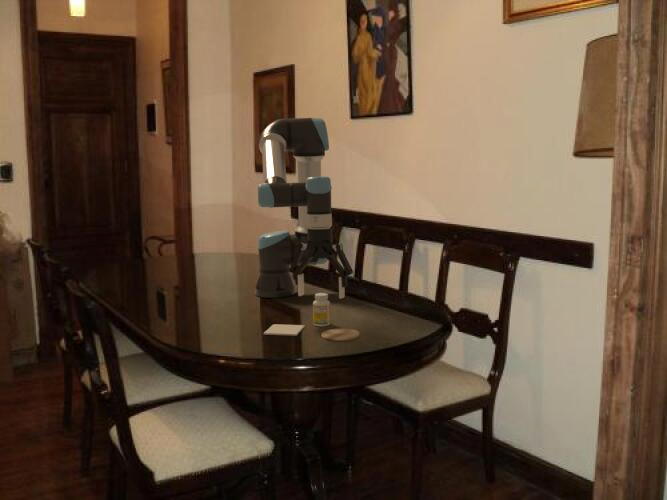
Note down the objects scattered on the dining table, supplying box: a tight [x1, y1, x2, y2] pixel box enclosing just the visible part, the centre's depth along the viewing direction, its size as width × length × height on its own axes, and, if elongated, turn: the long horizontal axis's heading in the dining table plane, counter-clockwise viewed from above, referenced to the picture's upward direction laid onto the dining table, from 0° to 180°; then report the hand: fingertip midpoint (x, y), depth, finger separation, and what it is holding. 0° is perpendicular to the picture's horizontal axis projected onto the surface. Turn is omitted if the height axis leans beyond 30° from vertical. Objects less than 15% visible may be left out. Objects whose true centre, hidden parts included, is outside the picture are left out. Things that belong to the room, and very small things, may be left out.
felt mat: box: [263, 323, 306, 337], centre depth 208 cm, size 10×10×1 cm
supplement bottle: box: [312, 292, 331, 328], centre depth 214 cm, size 5×5×10 cm
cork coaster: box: [321, 328, 360, 342], centre depth 202 cm, size 11×11×1 cm
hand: (321, 296), depth 213 cm, fingers open, 13 cm apart
